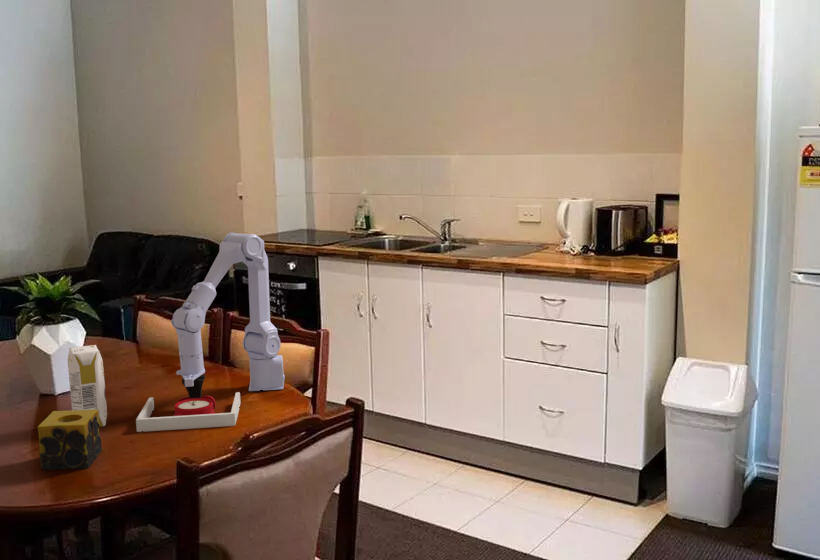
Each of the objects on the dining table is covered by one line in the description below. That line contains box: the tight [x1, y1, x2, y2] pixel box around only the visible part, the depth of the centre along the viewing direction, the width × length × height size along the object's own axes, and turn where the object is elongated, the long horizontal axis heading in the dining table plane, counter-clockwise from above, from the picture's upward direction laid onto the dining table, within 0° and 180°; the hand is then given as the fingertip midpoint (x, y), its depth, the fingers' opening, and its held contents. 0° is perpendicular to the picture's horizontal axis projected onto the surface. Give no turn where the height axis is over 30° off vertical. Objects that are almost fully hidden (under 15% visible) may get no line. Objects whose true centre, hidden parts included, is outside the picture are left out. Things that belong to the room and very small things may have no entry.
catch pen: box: [135, 391, 241, 433], centre depth 201 cm, size 23×18×3 cm
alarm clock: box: [173, 395, 217, 416], centre depth 201 cm, size 10×6×15 cm
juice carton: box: [67, 344, 108, 427], centre depth 196 cm, size 8×9×19 cm
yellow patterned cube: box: [37, 409, 103, 471], centre depth 173 cm, size 10×10×10 cm
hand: (195, 404), depth 208 cm, fingers closed, pressing on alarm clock
